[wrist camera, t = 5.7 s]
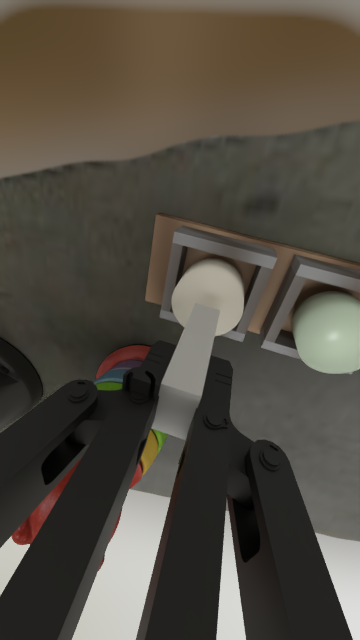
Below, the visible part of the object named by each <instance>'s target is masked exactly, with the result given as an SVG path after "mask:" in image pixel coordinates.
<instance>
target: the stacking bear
mask: <svg viewBox="0 0 360 640" xmlns="http://www.w3.org/2000/svg"><path fill="white" fill-rule="evenodd" d="M150 348H151V347H148V346H143V345H132V346H127V347H124V348H121V349H118V350H116V351H114V352H113V353H111V354H110V355H109V356H107V357H106V358H105V360H104V361H103V362H102V364H101V365H100V367H99V368H98V371H97V373H96V379H97V380H96V381H95V382H94V384H95V385H96V386H97V389H98V390H119V389H122V383H123V374H124V373H125V372H126V371H127V370H129V369H131V368H134V367H140V366H141V364H142V362H143V361H144V359H145V357H146V355H147V354H148V352H149V350H150ZM167 435H168V434H166V433H163V432H161V431H158V430H155V429H152V427H151V429H150V432H149V435H148V440H147V443H146V446H145V448H144V451H143V454H142V456H141V459H140V461H139V464H138V467H137V469H136V472H135V475H134V477H133V480H132V482H131V485H130V488H131V487H133V486H134V485H135V484H137V483H138V482H139V480H140V479H141V477H142V476H143V475H144V474H145V473H146V471H147V470H148V469H149V467H150V466H151V464H152V462H153V461H154V459H155V457H156V455H157V454H158V453H159V451H160V450H161V448H162V446H163V444H164V442H165V440H166V437H167ZM81 459H82V458H81ZM81 459H80V460H81ZM80 460H79V461H78V462H77V463H76V464H75V466H74V467H73V468H72V469H71V470H70V471H69V472H68V473H67V474H66V476H65V477H64V478H63V479H62V480H61V481H60V482H59V483H58V484H57V485H56V487H55V488H54V489H53V490H52V491H51V492H50V493H49V494H48V495H47V497H46V498H45V499H44V500H43V501H42V502H41V503H40V504H39V505H38V507H37V508H36V509H35V510H34V511H33V512H32V513H31V514H30V515H29V517H28V518H27V519H26V520H25V521H24V522H23V523H22V524H21V525H20V527H19V528H18V529H17V530H16V531H15V532H14V533H13V534H12V535H11V536H12V539H13V541H14V542H15V543H17V544H19V545H25V544H30V545H31V543H32V542H33V540H34V538H35V537H36V535H37V533H38V532H39V530H40V528H41V526H42V525H43V523H44V521H45V520H46V518H47V516H48V515H49V513H50V511H51V509H52V508H53V506H54V504H55V503H56V501H57V499H58V498H59V496H60V494H61V493H62V491H63V489H64V487H65V486H66V484H67V482H68V481H69V479H70V477H71V476H72V474H73V472H74V470H75V469H76V467H77V465H78V464H79V462H80ZM130 488H129V489H130ZM121 511H122V509H121ZM121 511H120V514H119V517H118V519H117V522H116V524H115V527H114V530H113V532H112V535H111V538H112V537H113V535H114V533H115V530H116V528H117V525H118V523H119V520H120V516H121ZM111 538H110V540H111ZM110 540H109V542H110ZM104 554H105V553H104ZM104 556H105V555H104ZM104 556H103V559H102V561H101V564H100V566H99V569H100V568H101V566H102V564H103V562H104ZM99 569H98V571H99Z"/></svg>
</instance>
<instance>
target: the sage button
mask: <svg viewBox="0 0 360 640" xmlns="http://www.w3.org/2000/svg"><path fill="white" fill-rule="evenodd" d="M291 329H292V332H293V336H294V340H295V343H296V347H297V350H298V353H299V356H300V358H301V359H302V360H303V362H304V363H305V364H307V365H308V366H309V367H311V368H313V369H315V370H317V371H320V372H324V373H331V374H341V373H348V372H352V371H356V370H358V369H360V301H359V300H358V299H357V298H356V297H354V296H353V295H351V294H348V293H345V292H340V291H327V292H321V293H318V294H315V295H313V296H311V297H309V298H307V299H305V300H304V301H303V302H302V303H301V304H300V305H299V306H298V307H297V308H296V309H295V311H294V313H293V315H292V318H291Z"/></svg>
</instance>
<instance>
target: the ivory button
mask: <svg viewBox="0 0 360 640" xmlns="http://www.w3.org/2000/svg"><path fill="white" fill-rule="evenodd" d="M171 301H172V310H173V313H174V315H175V317H176V319H177V320H178V322H179V323H180V324H181V325H182V326H183V327H184V328H185V326H186V324H187V321H188V319H189V316H190V314H191V312H192V309H193V307H194V305H195V303H196V304H200V305H203V306H207V307H210V308H214V309H217V310H220V314H219V318H218V323H217V328H216V332H215V336H219V335H222V334H225V333H227V332H229V331H230V330H232V329H233V328H234V327H235V326H236V325H237V324H238V322H239V321H240V319H241V317H242V314H243V309H244V282H243V279H242V276H241V274H240V273H239V271H238V270H237V269H236V268H235V267H234V266H233V265H231V264H230V263H228V262H226V261H224V260H221V259H216V258H207V259H203V260H200V261H197V262H195V263H194V264H192V265H191V266H190V267H189V268H188V269H187V270H186V272H185V273H184V275H183V277H182V278H181V280H180V281H179V283H178V284H177V286H176V287H175V289H174V291H173V295H172V300H171Z"/></svg>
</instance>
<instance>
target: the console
mask: <svg viewBox="0 0 360 640" xmlns="http://www.w3.org/2000/svg"><path fill="white" fill-rule="evenodd" d="M207 258H216V259H221V260H224V261H226V262H228V263H230V264H231V265H233V266H234V267H235V268H236V269H237V270H238V271H239V273H240V274H241V276H242V279H243V282H244V309H243V314H242V317H241V319H240V321H239V322H238V324H237V325H236V326H235V327H234V328H233V329H232V330H230V331H229V332H227V333H225V334H222V335H220V336H224V337H227V338H230V339H234V340H237V341H241V342H242V341H243V339H244V337H245V334H246V332H247V330H248V331H251V332H254V333H258V334H260V342H261V348H264V349H267V350H271V351H274V352H277V353H281V354H284V355H288V356H291V357H294V358H298V359H301V358H300V356H299V353H298V350H297V347H296V343H295V340H294V336H293V332H292V329H291V318H292V315H293V313H294V311H295V309H296V308H297V307H298V306H299V305H300V304H301V303H302V302H303V301H304V300H305V299H307V298H309V297H311V296H313V295H315V294H318V293H321V292H327V291H340V292H345V293H348V294H351V295H353V296H354V297H356V298H357V299H358V300H359V301H360V263H356V262H352V261H348V260H344V259H340V258H336V257H332V256H328V255H324V254H320V253H316V252H312V251H308V250H304V249H300V248H296V247H292V246H288V245H284V244H280V243H276V242H273V241H269V240H265V239H261V238H257V237H253V236H249V235H245V234H241V233H237V232H233V231H229V230H225V229H221V228H217V227H213V226H209V225H205V224H201V223H197V222H193V221H190V220H186V219H182V218H178V217H174V216H170V215H166V214H162V213H158V214H156V218H155V226H154V234H153V242H152V250H151V257H150V265H149V273H148V281H147V288H146V296H145V301H148V302H152V303H155V304H159V305H162V306H161V312H160V318H163V319H167V320H170V321H173V322H177V323H179V322H178V320H177V319H176V317H175V315H174V313H173V310H172V301H171V300H172V295H173V291H174V289H175V287H176V286H177V284H178V283H179V281H180V280H181V278H182V277H183V275H184V273H185V272H186V270H187V269H188V268H189V267H190V266H191V265H192V264H194V263H195V262H197V261H200V260H203V259H207ZM301 360H302V359H301ZM352 373H353V371H352V372H348V374H352Z"/></svg>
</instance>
